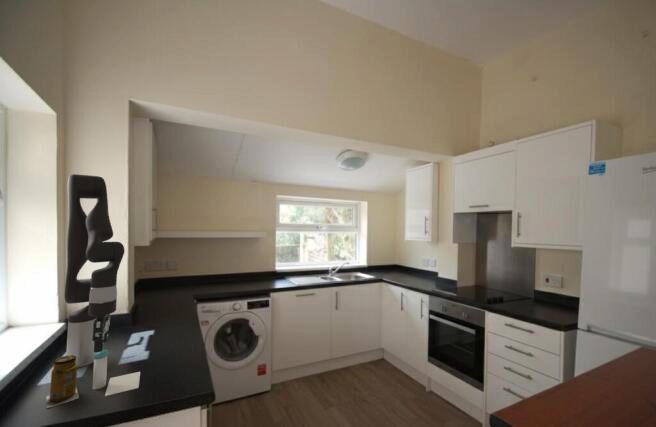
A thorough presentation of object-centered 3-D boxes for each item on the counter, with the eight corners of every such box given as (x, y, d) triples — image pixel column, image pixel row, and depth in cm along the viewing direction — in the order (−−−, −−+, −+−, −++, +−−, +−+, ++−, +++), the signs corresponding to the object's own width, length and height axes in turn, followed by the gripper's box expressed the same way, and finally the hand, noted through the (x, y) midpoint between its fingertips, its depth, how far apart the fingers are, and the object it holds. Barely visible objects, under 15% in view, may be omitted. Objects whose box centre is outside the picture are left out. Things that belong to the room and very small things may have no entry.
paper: (110, 378, 99) (110, 378, 99) (140, 372, 104) (140, 371, 104) (104, 396, 89) (104, 395, 89) (138, 388, 94) (138, 387, 94)
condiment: (76, 387, 94) (78, 351, 94) (79, 398, 88) (81, 360, 88) (45, 397, 88) (48, 358, 89) (46, 409, 83) (49, 368, 83)
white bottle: (93, 385, 95) (95, 351, 96) (107, 382, 97) (108, 348, 98) (90, 390, 92) (92, 355, 92) (105, 387, 94) (107, 353, 94)
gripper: (93, 296, 100) (91, 342, 99) (84, 305, 88) (81, 357, 87) (119, 293, 104) (117, 337, 103) (113, 302, 92) (111, 352, 91)
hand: (100, 346), depth 95 cm, fingers open, 8 cm apart
